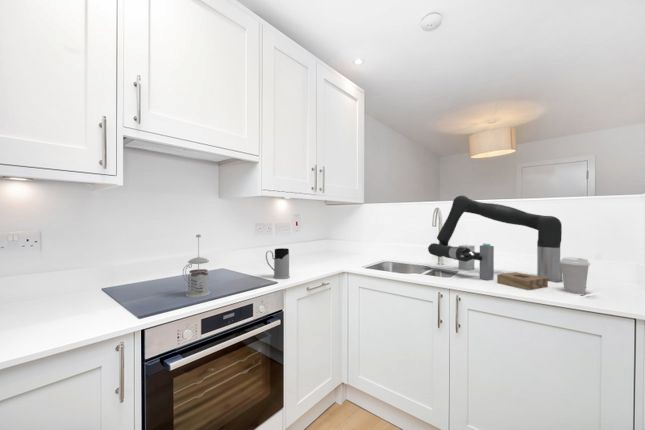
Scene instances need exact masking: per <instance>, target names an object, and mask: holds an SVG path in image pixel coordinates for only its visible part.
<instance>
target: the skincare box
mask: <svg viewBox="0 0 645 430" xmlns="http://www.w3.org/2000/svg"><path fill="white" fill-rule="evenodd" d="M458 247H464V248H469V249H470V250H471V252H476V249H475V247H476V246H475V245H472V244H463V245H462V244H461V245H458ZM458 270H462V271H463V270H464V271H471V270H475V260H469V261H467V262H465V261H460V260H458Z"/></svg>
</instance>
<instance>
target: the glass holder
mask: <svg viewBox="0 0 645 430" xmlns="http://www.w3.org/2000/svg"><path fill="white" fill-rule="evenodd" d="M269 252H270V253H271V257H272V260H274V261H273V264H274V265H273V267H272V266H271V265H270V262H269V260H268V253H269ZM265 260H266V262H267V266H269V267H270V268H271V270H273V279H275V280H286V279H287V280H288V279H290V277H291V276H290V249H289V248H285V247H283V248H275V249H274V252H273V251H271V250H267V251H266V252H265Z"/></svg>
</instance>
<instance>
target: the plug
mask: <svg viewBox="0 0 645 430" xmlns="http://www.w3.org/2000/svg"><path fill="white" fill-rule="evenodd" d="M494 247H495V246H494V245H491V243H485V242H484V243H482V244H481V245H479V253H480V256H482V260H481V261H480V260H479V279H480V280H484V281H493V280H494V279H495V278H494V276H495V275H494V272H495V271H494V270H495V269H494V266H495V265H494V264H495V261H494V259H495V257H494V253H495V252H494V250H495V249H494Z"/></svg>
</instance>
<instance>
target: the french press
mask: <svg viewBox="0 0 645 430" xmlns="http://www.w3.org/2000/svg"><path fill="white" fill-rule="evenodd" d="M195 237H196V238H198V239H197V240H198V245H197V248H198V249H197V251H198V253H197V255H198V256H196V257H194V258H192V259H190V260H188V261H187V263H188V264H186V265H185V266H184V268H183V269H182V272H184V271H185V276H184V273H182V277H183V279H184V281H185V282H187V287H188V288H187V289H188V290H187V293H186V294H185V297H187V298H201V297H206V296H208V295H210V293H212V292H211V291H210V290H209V272H208V269H205V268H202V269H200V265H201V264H207V263H209V262H210V261H209V260H208V259H207V258H205V257H200V238H201V237H202V235H201V234H196V236H195ZM192 264H193V265H194V264H195V265H196V264H197V266H198V267H197V268H196V269H192V266H193V265H192ZM188 268H190V269H192V270H189V271H188V272H189V274H188V275H187V269H188ZM185 277H186V278H185Z"/></svg>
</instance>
